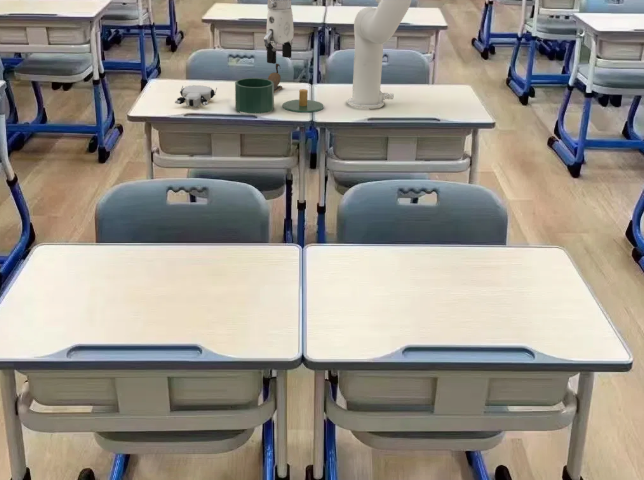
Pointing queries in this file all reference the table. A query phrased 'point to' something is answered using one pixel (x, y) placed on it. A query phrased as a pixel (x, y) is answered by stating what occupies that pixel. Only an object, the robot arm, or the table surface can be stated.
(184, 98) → the robot toy
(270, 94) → the tin
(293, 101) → the lid
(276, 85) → the figurine
